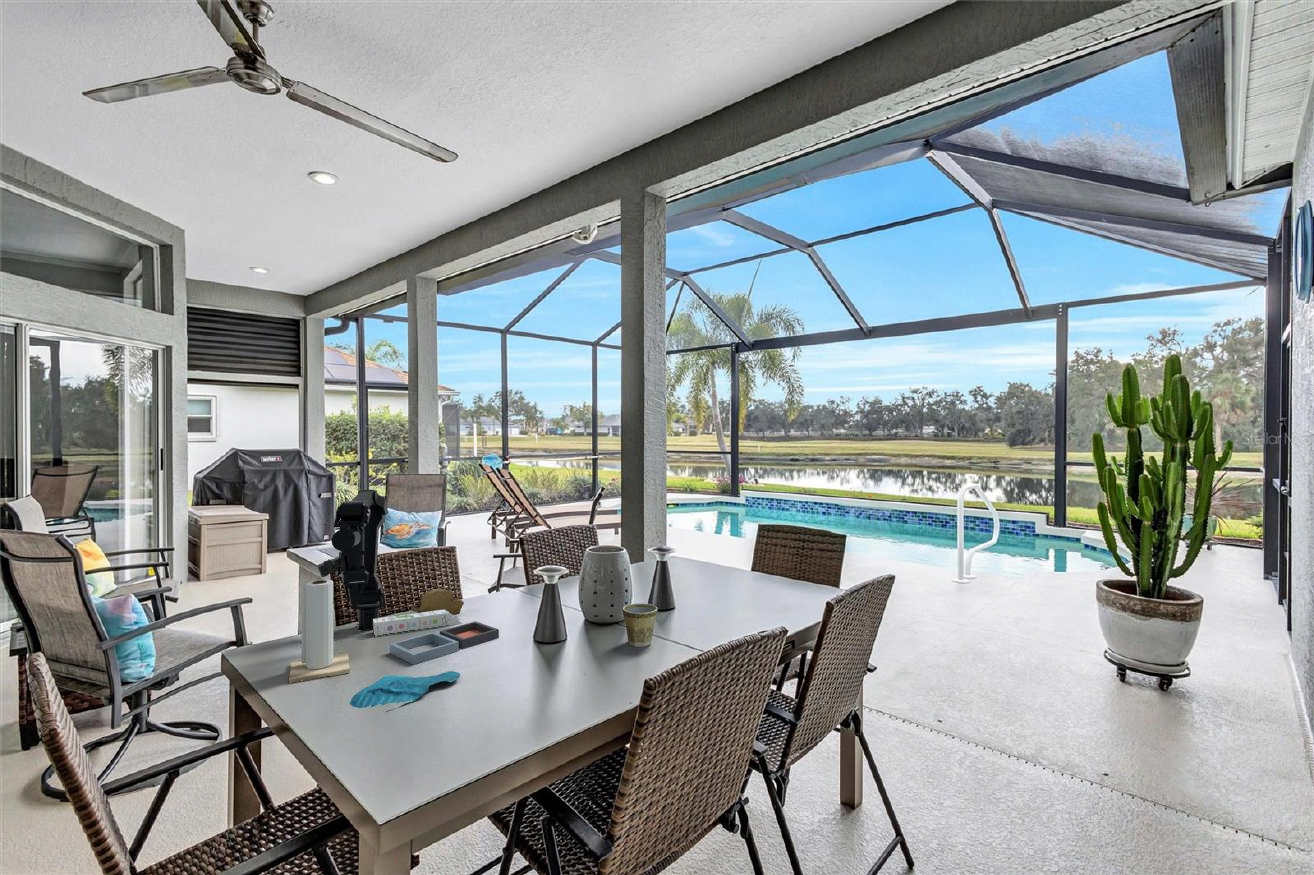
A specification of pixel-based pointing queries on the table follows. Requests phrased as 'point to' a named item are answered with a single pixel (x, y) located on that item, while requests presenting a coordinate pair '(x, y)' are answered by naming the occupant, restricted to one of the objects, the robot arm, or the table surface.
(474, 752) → the table surface
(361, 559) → the robot arm
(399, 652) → the blue square frame
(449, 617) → the box
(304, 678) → the wooden pad
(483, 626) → the tray
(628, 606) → the ceramic cup
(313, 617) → the paper towel roll
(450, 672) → the blue flat elongated piece
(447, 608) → the wooden carving
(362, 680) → the table surface
